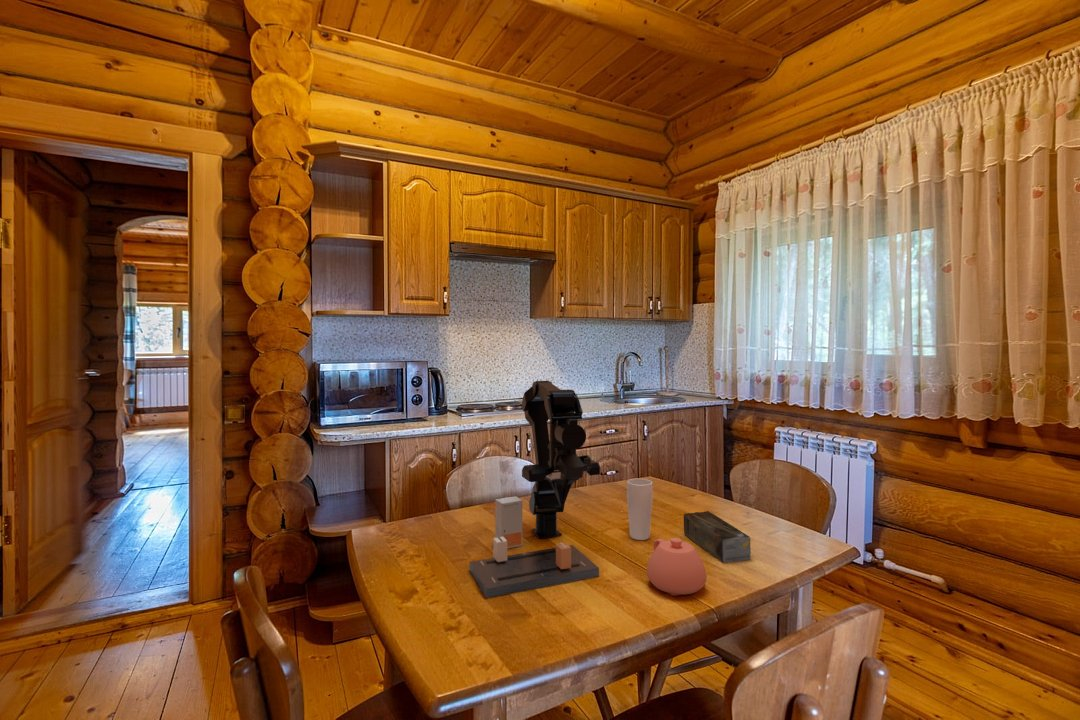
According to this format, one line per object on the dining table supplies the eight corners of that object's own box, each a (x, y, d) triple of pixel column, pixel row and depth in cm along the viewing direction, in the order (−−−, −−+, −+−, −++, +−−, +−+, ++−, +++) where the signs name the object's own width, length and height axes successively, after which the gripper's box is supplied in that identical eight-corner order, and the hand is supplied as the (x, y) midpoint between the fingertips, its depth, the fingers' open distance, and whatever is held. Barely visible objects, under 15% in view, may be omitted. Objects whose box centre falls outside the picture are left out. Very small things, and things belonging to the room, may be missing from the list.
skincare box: (501, 550, 131) (501, 503, 131) (494, 544, 135) (494, 499, 134) (523, 546, 134) (523, 500, 133) (516, 540, 138) (515, 495, 137)
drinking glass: (652, 543, 135) (652, 485, 135) (626, 541, 137) (626, 484, 136) (652, 533, 142) (652, 478, 142) (627, 531, 143) (627, 477, 143)
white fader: (493, 557, 121) (493, 537, 121) (503, 555, 122) (503, 535, 122) (497, 562, 119) (497, 541, 118) (507, 560, 119) (507, 540, 119)
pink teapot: (670, 605, 103) (670, 554, 103) (631, 576, 116) (631, 531, 116) (719, 593, 108) (719, 544, 108) (675, 567, 121) (676, 523, 121)
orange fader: (555, 564, 117) (555, 543, 117) (565, 562, 118) (565, 541, 118) (561, 569, 115) (561, 548, 114) (571, 567, 115) (571, 546, 115)
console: (469, 570, 120) (469, 561, 120) (572, 552, 129) (572, 544, 129) (485, 598, 107) (485, 588, 107) (598, 576, 116) (598, 567, 116)
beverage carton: (721, 564, 123) (721, 537, 122) (682, 535, 141) (682, 511, 141) (751, 561, 124) (752, 534, 124) (708, 532, 143) (708, 509, 143)
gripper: (537, 451, 116) (538, 520, 116) (611, 444, 123) (611, 510, 123) (520, 442, 126) (521, 506, 127) (590, 436, 133) (590, 497, 134)
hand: (561, 505), depth 127 cm, fingers closed
